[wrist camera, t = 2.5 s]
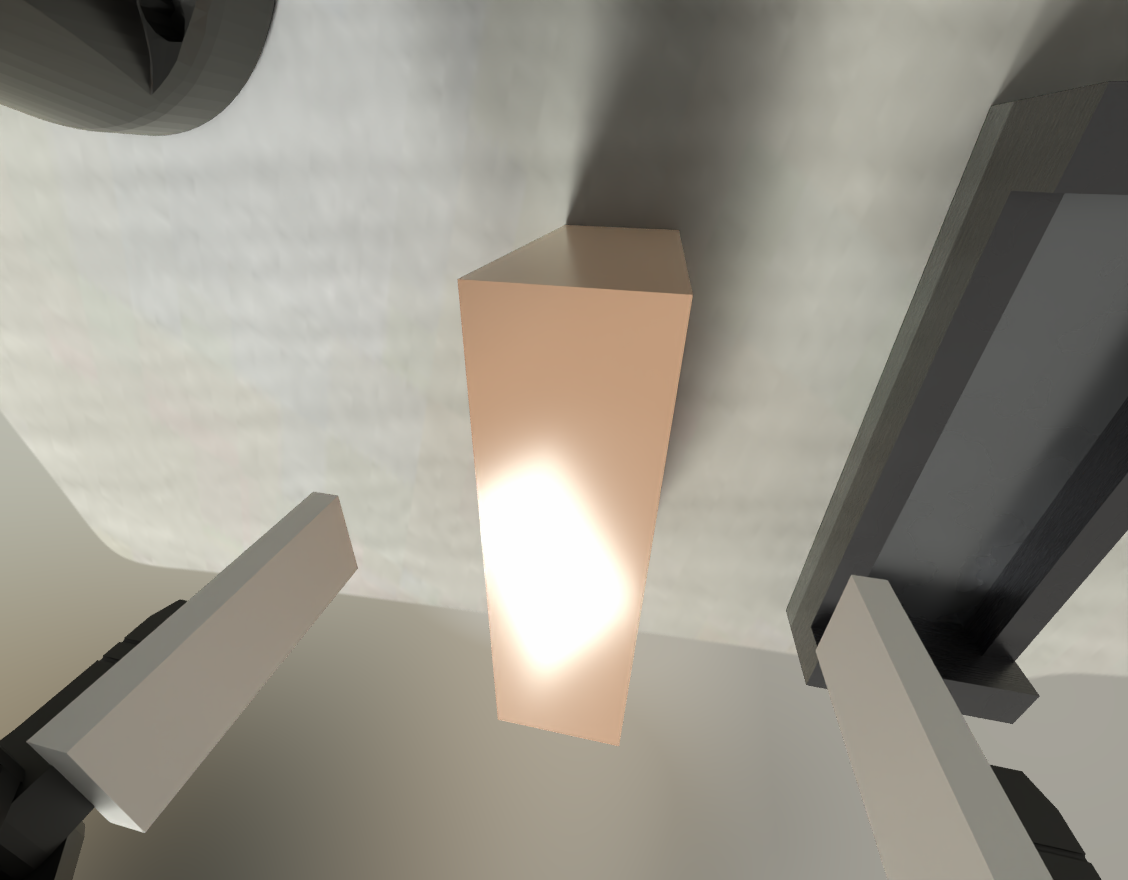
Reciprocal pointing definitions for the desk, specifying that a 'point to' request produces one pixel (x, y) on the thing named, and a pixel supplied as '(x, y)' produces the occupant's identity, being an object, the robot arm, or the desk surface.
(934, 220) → the desk surface
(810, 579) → the dark grey tray
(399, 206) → the desk surface
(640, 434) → the orange rectangular block
